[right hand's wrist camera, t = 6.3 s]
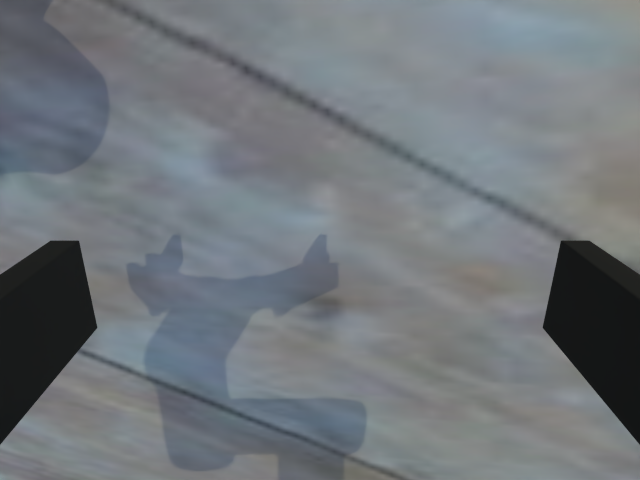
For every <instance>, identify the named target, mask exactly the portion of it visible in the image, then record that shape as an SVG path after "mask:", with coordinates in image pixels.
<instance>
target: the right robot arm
mask: <svg viewBox="0 0 640 480" xmlns="http://www.w3.org/2000/svg"><path fill="white" fill-rule="evenodd" d="M96 329H97V324H96V319H95V315H94V310H93V305H92V301H91V296H90V291H89V286H88V282H87V277H86V272H85V267H84V263H83V258H82V253H81V248H80V244H79V241H50V242H48V243H47V244H45V245H44V246H42V247H41V248H39V249H38V250H36V251H35V252H33V253H32V254H30V255H29V256H27V257H26V258H24V259H23V260H21V261H20V262H18V263H17V264H16V265H14V266H13V267H11V268H10V269H8V270H7V271H5V272H4V273H2V274H1V275H0V444H1V443H2V442H3V441H4V439H5V438H6V437H7V436H8V435H9V433H10V432H11V431H12V430H13V428H14V427H15V426H16V425H17V424H18V422H19V421H20V420H21V419H22V418H23V416H24V415H25V414H26V413H27V412H28V410H29V409H30V408H31V407H32V406H33V404H34V403H35V402H36V401H37V400H38V398H39V397H40V396H41V395H42V394H43V392H44V391H45V390H46V389H47V388H48V386H49V385H50V384H51V383H52V382H53V380H54V379H55V378H56V377H57V376H58V374H59V373H60V372H61V371H62V369H63V368H64V367H65V366H66V365H67V363H68V362H69V361H70V360H71V359H72V357H73V356H74V355H75V354H76V353H77V351H78V350H79V349H80V348H81V347H82V345H83V344H84V343H85V342H86V341H87V339H88V338H89V337H90V336H91V335H92V333H93V332H94V331H95V330H96ZM543 329H544V330H545V331H546V332H547V333H548V335H549V336H550V337H551V338H552V339H553V341H554V342H555V343H556V344H557V345H558V347H559V348H560V349H561V350H562V351H563V353H564V354H565V355H566V356H567V357H568V359H569V360H570V361H571V362H572V363H573V365H574V366H575V367H576V368H577V370H578V371H579V372H580V373H581V374H582V376H583V377H584V378H585V379H586V380H587V382H588V383H589V384H590V385H591V386H592V388H593V389H594V390H595V391H596V392H597V394H598V395H599V396H600V397H601V398H602V400H603V401H604V402H605V403H606V404H607V406H608V407H609V408H610V409H611V410H612V412H613V413H614V414H615V415H616V416H617V418H618V419H619V420H620V421H621V422H622V424H623V425H624V426H625V427H626V428H627V430H628V431H629V432H630V433H631V435H632V436H633V437H634V438H635V439H636V441H637V442H638V443H639V444H640V275H639V274H638V273H636V272H635V271H633V270H632V269H630V268H629V267H627V266H626V265H624V264H623V263H622V262H620V261H619V260H617V259H616V258H614V257H613V256H611V255H610V254H608V253H607V252H605V251H604V250H602V249H601V248H599V247H598V246H596V245H595V244H593V243H592V242H590V241H561V244H560V248H559V253H558V258H557V263H556V267H555V272H554V277H553V282H552V286H551V291H550V296H549V301H548V305H547V310H546V315H545V319H544V324H543Z"/></svg>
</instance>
